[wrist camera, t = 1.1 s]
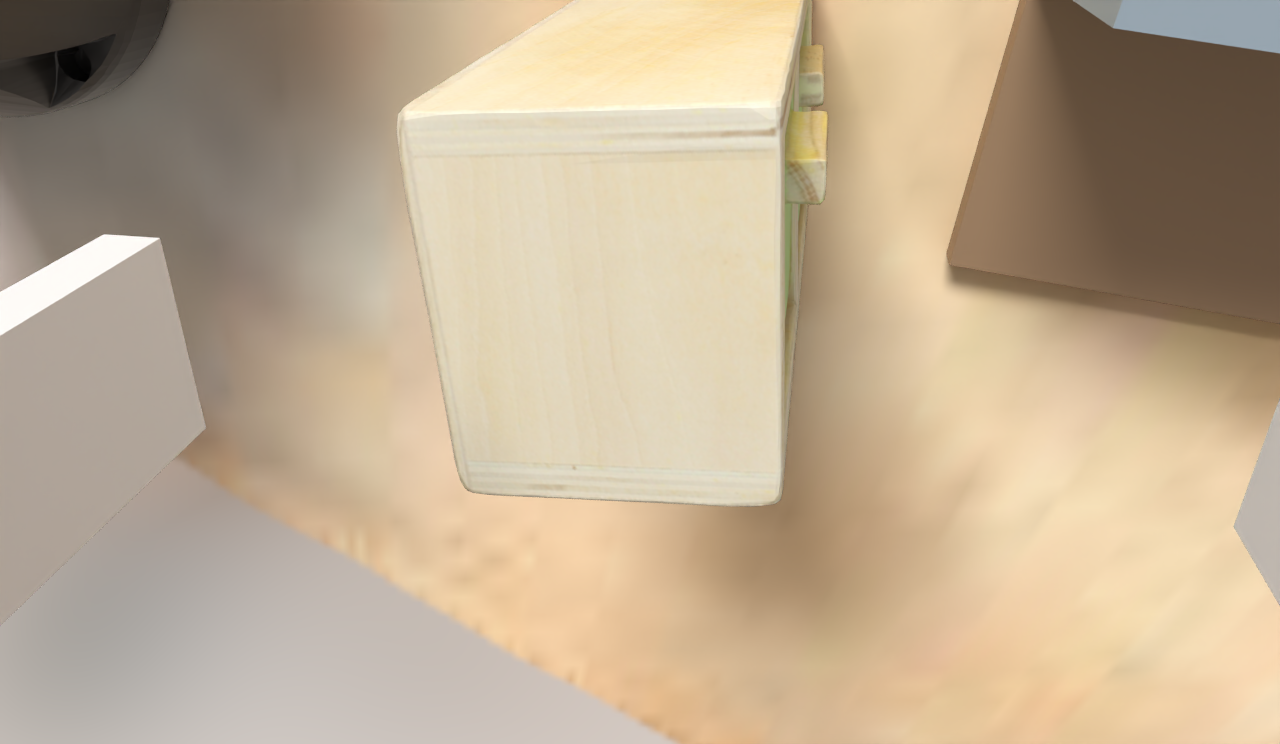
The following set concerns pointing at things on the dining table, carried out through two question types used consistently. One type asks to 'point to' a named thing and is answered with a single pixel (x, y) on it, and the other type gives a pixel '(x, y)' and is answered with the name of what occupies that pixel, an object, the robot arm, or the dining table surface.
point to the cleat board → (1134, 154)
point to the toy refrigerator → (621, 248)
